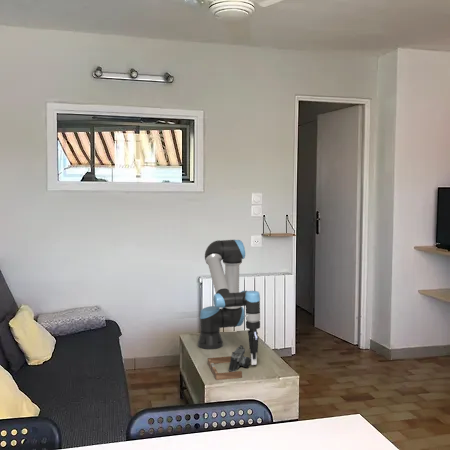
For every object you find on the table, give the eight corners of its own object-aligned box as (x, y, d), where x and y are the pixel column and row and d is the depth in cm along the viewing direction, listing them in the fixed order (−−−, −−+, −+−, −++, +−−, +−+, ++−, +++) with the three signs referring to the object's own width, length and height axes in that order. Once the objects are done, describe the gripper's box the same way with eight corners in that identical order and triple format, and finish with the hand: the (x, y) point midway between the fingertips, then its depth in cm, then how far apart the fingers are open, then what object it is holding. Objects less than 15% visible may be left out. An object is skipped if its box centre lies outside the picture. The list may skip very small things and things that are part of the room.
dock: (207, 363, 284) (207, 356, 284) (231, 361, 287) (231, 354, 287) (216, 380, 259) (216, 372, 259) (242, 377, 262) (241, 370, 262)
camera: (244, 376, 267) (248, 358, 266) (227, 371, 270) (231, 353, 268) (251, 365, 284) (255, 347, 283) (235, 360, 287) (238, 343, 285)
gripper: (243, 318, 280) (243, 361, 282) (249, 324, 267) (250, 369, 269) (256, 317, 282) (257, 359, 283) (263, 323, 269) (264, 367, 271)
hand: (253, 364), depth 276 cm, fingers closed
